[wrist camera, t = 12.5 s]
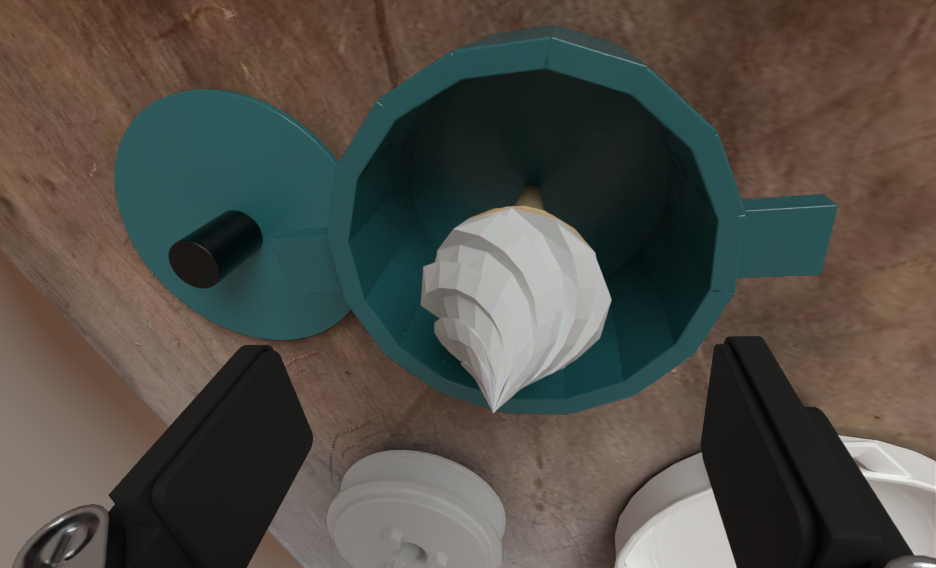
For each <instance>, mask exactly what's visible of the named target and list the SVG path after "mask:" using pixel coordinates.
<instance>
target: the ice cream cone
mask: <svg viewBox="0 0 936 568" xmlns="http://www.w3.org/2000/svg"><path fill="white" fill-rule="evenodd" d="M611 300H612V299H611V297H610V294H609V291H608V289H607V286H606V283H605V280H604V278H603V275H602V272H601V270H600V267H599V264H598V262H597V259H596V253H595V252H594V251H593V250H592V249H591V247H590V246H589V245H588V244H587V243H586V241H585V240H584V239H583V238H582V237H581V235H580V234H579V233H578V232H577V231H576V230H575V229H574V228H573V227H571V226H569V225H568V224H566V223H565V222H563V221H561V220H560V219H558V218H556V217H555V216H553V215H551V214H549V213H547V212H546V211H544V210H543V205H542V201H541V195H540V191H539V188H538V187H537V186H536V185H533V184H531V185H528V186H527V187H526V188H525V189H524V190H523V192H522V194H521V196H520V197H519V199H518V201H517V202H516V204H515V205H514V206H510V207H503V208H496V209H492V210H489V211H487V212H484V213H481V214H479V215H476V216H473V217H471V218H469V219H467V220H466V221H464V222H463V223H461V224H460V225H459V226H457V227H456V228H454V229H453V230H452V231H451V233H450V234H449V235H448V237H447V238H446V240H445V241H444V242H443V244H442V245H441V246H440V248H439V249H438V250H437V256H436V259H435V263H432V264H429V265H426V266H423V279H422V295H421V306H422V307H424V308H425V309H427V310H428V311H430V312H431V313H433V314H434V315H435V316H437V317H438V318H440V319H439V320H437V321H436V322H435V323H434V333H435V334H436V336H437V338H438V339H439V341H440V342H441V344H442V345H443V346H444V347H445V348H446V349H447V350H448V351H449V352H450V353H451V354H452V355H454V356H455V357H456V358H457V359H458V360H460V361H462V362H461V365H462V366H463V367H464V368H465V369H466V370H467V371H468V372H469V373H470V374H471V375H472V376H473V378H474V379H475V380H476V382H477V384H478V386H479V387H480V389H481V391H482V393H483V395H484V397H485V398H486V400H487V402H488V404H489V406H490V408H491V410H492V412H493V413H494V412H495V411H496V410H498V409H499V408H500V407H501V406H502V405H503V404H504V403H505V402H507V401H508V400H509V399H510V398H511V397H512V396H513V395H515V394H516V393H517V392H518V391H519V390H520V389H522V388H523V387H525V386H527V385H529V384H531V383H534V382H536V381H538V380H540V379H541V378H543V377H545V376H548V375H550V374H553V373H555V372H556V371H558V370H560V369H563V368H565V366H566V365H568V364H570V363H571V362H573V361H575V360H577V359H578V358H579V357H580V356H581V355H582V354H583V353H584V352H585V351H587V350H588V349H589V348H590V347H591V346H592V345H593V344H594V343H595V342H596V341H598V340H599V339H600V336H601V333H602V330H603V326H604V323H605V320H606V317H607V313H608V310H609V307H610V304H611Z"/></svg>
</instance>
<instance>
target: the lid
mask: <svg viewBox="0 0 936 568" xmlns="http://www.w3.org/2000/svg"><path fill="white" fill-rule="evenodd" d="M327 526H328V531H329V533H330V536H331V538H332V540H333V541H334V543H335V545H336V546H337V548H338V550H339V552H340V553H341V555H342V556H343V557H344V559H345V560H346V561H347V562H348V563H349V564H350V565H351V566H352V567H353V568H499V567H500V565H501V561H502V553H503V549H502V542H501V539H502V538H503V535H504V532H505V526H506V515H505V510H504V507H503V504H502V503H501V501H500V499H499V497H498V496H497V494H496V493H495V492H494V490H493V489H492V488H491V487H490V486H489V485H488V484H487V483H486V482H485V481H484V480H483V479H482V478H480V477H479V476H478V475H477V474H475V473H474V472H472V471H471V470H469V469H467V468H466V467H464V466H462V465H460V464H458V463H456V462H454V461H452V460H449V459H446V458H444V457H441V456H438V455H434V454H430V453H426V452H420V451H412V450H389V451H382V452H378V453H374V454H371V455H368V456H366V457H364V458H362V459H360V460H358V461H357V462H355V463H354V464H353V465H352V466H351V467H350V468H349V469H348V471H347V472H346V473H345V475H344V477H343V480H342V482H341V487H340V493H339V494H338V495H337V496H336V497H335V498H334V500H333V501H332V503H331V505H330V507H329V510H328V514H327Z"/></svg>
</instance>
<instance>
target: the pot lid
mask: <svg viewBox="0 0 936 568" xmlns="http://www.w3.org/2000/svg"><path fill="white" fill-rule="evenodd" d="M338 163H339V161H338V160H337V159H336V157H335V156H334V155H333V153H332V152H331V151H330V150H329V149H328V148H327V147H326V146H325V145H324V144H323V143H322V142H321V141H320V140H319V138H318V137H316V136H315V135H314V134H313V133H312V132H311V131H309V130H308V129H307V128H306V127H305V126H304V125H302V124H301V123H300V122H298V121H297V120H295V119H294V118H292V117H291V116H289V115H288V114H286V113H285V112H283V111H281V110H279V109H277V108H276V107H274V106H272V105H270V104H268V103H266V102H264V101H261V100H258V99H256V98H253V97H250V96H248V95H244V94H240V93H236V92H232V91H227V90H216V89H198V90H189V91H185V92H180V93H176V94H172V95H169V96H167V97H164V98H162V99H160V100H157V101H155V102H154V103H152V104H151V105H149V106H148V107H146V108H145V109H144V110H142V111H141V113H140V114H139V115H138V116H137V117H136V118H135V119H134V120H133V121H132V122H131V124H130V125H129V127H128V128H127V130H126V131H125V133H124V135H123V138H122V140H121V143H120V145H119V148H118V152H117V157H116V161H115V175H114V179H115V192H116V197H117V202H118V207H119V211H120V214H121V217H122V220H123V223H124V226H125V228H126V230H127V232H128V234H129V237H130V239H131V241H132V243H133V244H134V246H135V248H136V250H137V251H138V253H139V255H140V256H141V258H142V259H143V260H144V262H145V263H146V265H147V266H148V268H149V269H150V270H151V271H152V272H153V274H154V275H155V276H156V277H157V278H158V280H159V281H160V282H161V283H162V284H163V285H164V286H165V287H166V288H167V289H168V290H169V291H170V292H171V293H172V294H174V295H175V296H176V297H177V298H178V299H179V300H181V301H182V302H183V303H184V304H185V305H187V306H188V307H190V308H191V309H193V310H194V311H195V312H197V313H198V314H200V315H202V316H203V317H205V318H207V319H208V320H210V321H212V322H214V323H216V324H218V325H220V326H222V327H224V328H227V329H229V330H232V331H235V332H237V333H240V334H244V335H248V336H251V337H255V338H262V339H268V340H293V339H300V338H305V337H310V336H312V335H315V334H318V333H321V332H323V331H325V330H327V329H329V328H330V327H332V326H334V325H335V324H336V323H338V322H339V321H340V320H342V319H343V318H344V317H345V316H346V315H347V314H348V313H349V311H350V310H351V309H350V308H349V307H348V304H346V301H345V298H344V294H343V292H321V293H293V294H291V293H290V292H289V289H288V286H287V283H286V281H285V278H284V275H283V272H282V269H281V267H280V264H279V261H278V258H277V256H276V253H275V250H274V247H273V244H272V242H271V240H272V239H273V238H274V237H275V236H277V235H278V234H279V233H280V232H282V231H283V230H290V229H305V228H320V227H329V218H330V209H331V200H332V192H333V183H334V174H335V169H336V166H337V164H338Z"/></svg>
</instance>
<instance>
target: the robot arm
mask: <svg viewBox="0 0 936 568" xmlns="http://www.w3.org/2000/svg"><path fill="white" fill-rule="evenodd" d="M312 443H313V434H312V431H311V429H310V426H309V424H308V421H307V419H306V416H305V414H304V412H303V409H302V407H301V404H300V402H299V400H298V397H297V395H296V392H295V390H294V388H293V385H292V383H291V380H290V378H289V375H288V373H287V371H286V368H285V366H284V363H283V361H282V359H281V356H280V354H279V353H278V352H277V351H274V350H273V348H272V347H271V346H269V345H245V346H242V347H241V348H239V349H238V350H237V352H236V353H235V354H234V355H233V356H232V357H231V358H230V359H229V361H228V362H227V363H226V364H225V365H224V366H223V367H222V368H221V370H220V371H219V372H218V373H217V374H216V375H215V376H214V377H213V378H212V380H211V381H210V382H209V383H208V384H207V385H206V386H205V387H204V389H203V390H202V391H201V392H200V393H199V394H198V395H197V396H196V398H195V399H194V400H193V401H192V402H191V403H190V404H189V405H188V406H187V408H186V409H185V410H184V411H183V412H182V413H181V414H180V415H179V417H178V418H177V419H176V420H175V421H174V422H173V423H172V424H171V426H170V427H169V428H168V429H167V430H166V431H165V432H164V433H163V435H162V436H161V437H160V438H159V439H158V440H157V441H156V443H155V444H154V445H153V446H152V447H151V448H150V449H149V450H148V451H147V453H146V454H145V455H144V456H143V457H142V458H141V459H140V460H139V461H138V463H137V464H136V465H135V466H134V467H133V468H132V469H131V470H130V472H129V473H128V474H127V475H126V476H125V477H124V478H123V479H122V481H121V482H120V483H119V484H118V485H117V486H116V487H115V488H114V489H113V491H112V492H111V493H110V494H109V496H110V498H111V499H112V500H113V502H114V503H115V505H114V506H113V507H112V509H111V510H110V511H109V512H108V511H107V510H106V509H105V508H104V507H103V506H100V505H94V504H91V505H85V506H80V507H78V508H75V509H72V510H69V511H67V512H65V513H63V514H61V515H60V516H58V517H56V518H54V519H53V520H51V521H50V522H48V523H47V524H46V525H44V526H43V527H42V528H40V529H39V530H38V531H37V532H36V533H35V534H34V535H33V536H32V537H31V538H30V539H29V540H28V541H27V542H26V543H25V544H24V546H23V547H22V548H21V550H20V551H19V552H18V554H17V556H16V559H15V561H14V563H13V566H12V568H247V566H248V564H249V562H250V560H251V559H252V557H253V555H254V553H255V551H256V549H257V547H258V546H259V544H260V542H261V540H262V538H263V536H264V534H265V533H266V531H267V529H268V527H269V525H270V523H271V521H272V520H273V518H274V516H275V514H276V512H277V510H278V509H279V507H280V505H281V503H282V501H283V499H284V497H285V496H286V494H287V492H288V490H289V488H290V486H291V484H292V483H293V481H294V479H295V477H296V475H297V473H298V471H299V470H300V468H301V466H302V464H303V462H304V460H305V458H306V457H307V455H308V453H309V451H310V449H311V447H312ZM701 451H702V458H703V462H704V465H705V468H706V471H707V474H708V478H709V481H710V484H711V487H712V490H713V494H714V497H715V500H716V503H717V506H718V510H719V513H720V516H721V519H722V522H723V525H724V529H725V532H726V535H727V538H728V541H729V545H730V548H731V551H732V554H733V557H734V561H735V564H736V567H737V568H936V558H933V557H928V556H924V555H914V554H913V552H912V550H911V549H910V547H909V546H908V544H907V543H906V541H905V539H904V538H903V536H902V535H901V533H900V532H899V530H898V528H897V527H896V525H895V524H894V522H893V521H892V519H891V517H890V516H889V514H888V513H887V511H886V510H885V508H884V506H883V505H882V503H881V502H880V500H879V499H878V497H877V495H876V494H875V492H874V491H873V489H872V488H871V486H870V484H869V483H868V481H867V480H866V478H865V477H864V475H863V473H862V472H861V470H860V469H859V467H858V466H857V464H856V462H855V461H854V459H853V458H852V456H851V455H850V453H849V451H848V450H847V448H846V447H845V445H844V444H843V442H842V440H841V439H840V437H839V436H838V434H837V433H836V431H835V429H834V428H833V426H832V425H831V423H830V422H829V420H828V418H827V417H826V416H825V415H824V413H823V412H822V411H821V410H819V409H818V408H816V407H804V406H803V404H802V403H801V401H800V399H799V398H798V396H797V394H796V393H795V391H794V389H793V388H792V386H791V384H790V383H789V381H788V379H787V378H786V376H785V374H784V373H783V371H782V369H781V368H780V366H779V364H778V362H777V361H776V359H775V357H774V356H773V354H772V352H771V351H770V349H769V347H768V346H767V344H766V342H765V341H764V339H763V338H762V337H760V336H738V337H727V338H726V339H725V342H724V344H717V345H715V347H714V352H713V359H712V366H711V374H710V381H709V388H708V395H707V403H706V410H705V417H704V424H703V432H702V439H701Z"/></svg>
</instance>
